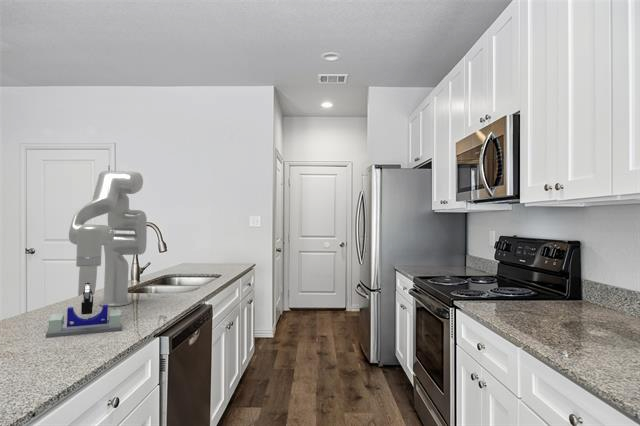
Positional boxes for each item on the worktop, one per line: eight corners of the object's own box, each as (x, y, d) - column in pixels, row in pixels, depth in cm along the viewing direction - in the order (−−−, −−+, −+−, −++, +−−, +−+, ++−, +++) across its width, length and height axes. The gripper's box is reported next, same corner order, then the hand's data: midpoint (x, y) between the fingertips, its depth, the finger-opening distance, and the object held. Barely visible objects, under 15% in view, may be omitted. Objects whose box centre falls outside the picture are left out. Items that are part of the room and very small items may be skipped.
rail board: (50, 328, 139) (50, 313, 139) (120, 322, 149) (121, 308, 150) (45, 337, 128) (46, 321, 129) (122, 330, 139) (122, 315, 139)
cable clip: (107, 320, 144) (107, 303, 144) (107, 323, 140) (107, 306, 140) (67, 323, 138) (68, 306, 138) (66, 327, 134) (67, 309, 134)
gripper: (77, 258, 145) (76, 306, 145) (74, 265, 130) (72, 317, 130) (101, 258, 149) (99, 304, 149) (100, 264, 134) (99, 315, 134)
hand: (87, 310), depth 140 cm, fingers open, 9 cm apart
